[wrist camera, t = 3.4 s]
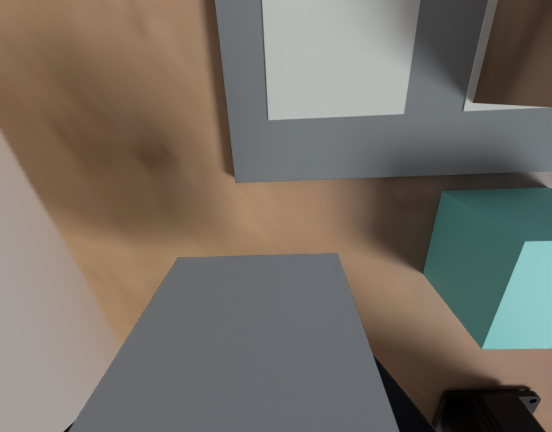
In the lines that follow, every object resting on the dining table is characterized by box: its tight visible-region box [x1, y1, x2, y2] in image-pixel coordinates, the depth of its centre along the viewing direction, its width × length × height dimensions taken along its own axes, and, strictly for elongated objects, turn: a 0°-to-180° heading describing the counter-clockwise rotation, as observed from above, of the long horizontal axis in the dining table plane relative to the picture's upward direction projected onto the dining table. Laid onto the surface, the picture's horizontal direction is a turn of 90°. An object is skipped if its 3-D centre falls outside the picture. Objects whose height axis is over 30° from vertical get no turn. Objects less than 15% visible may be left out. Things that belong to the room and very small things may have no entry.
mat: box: [215, 0, 552, 183], centre depth 10 cm, size 10×17×1 cm, turn 93°
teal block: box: [423, 187, 552, 349], centre depth 12 cm, size 5×5×5 cm
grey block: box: [68, 253, 399, 432], centre depth 7 cm, size 5×5×5 cm
